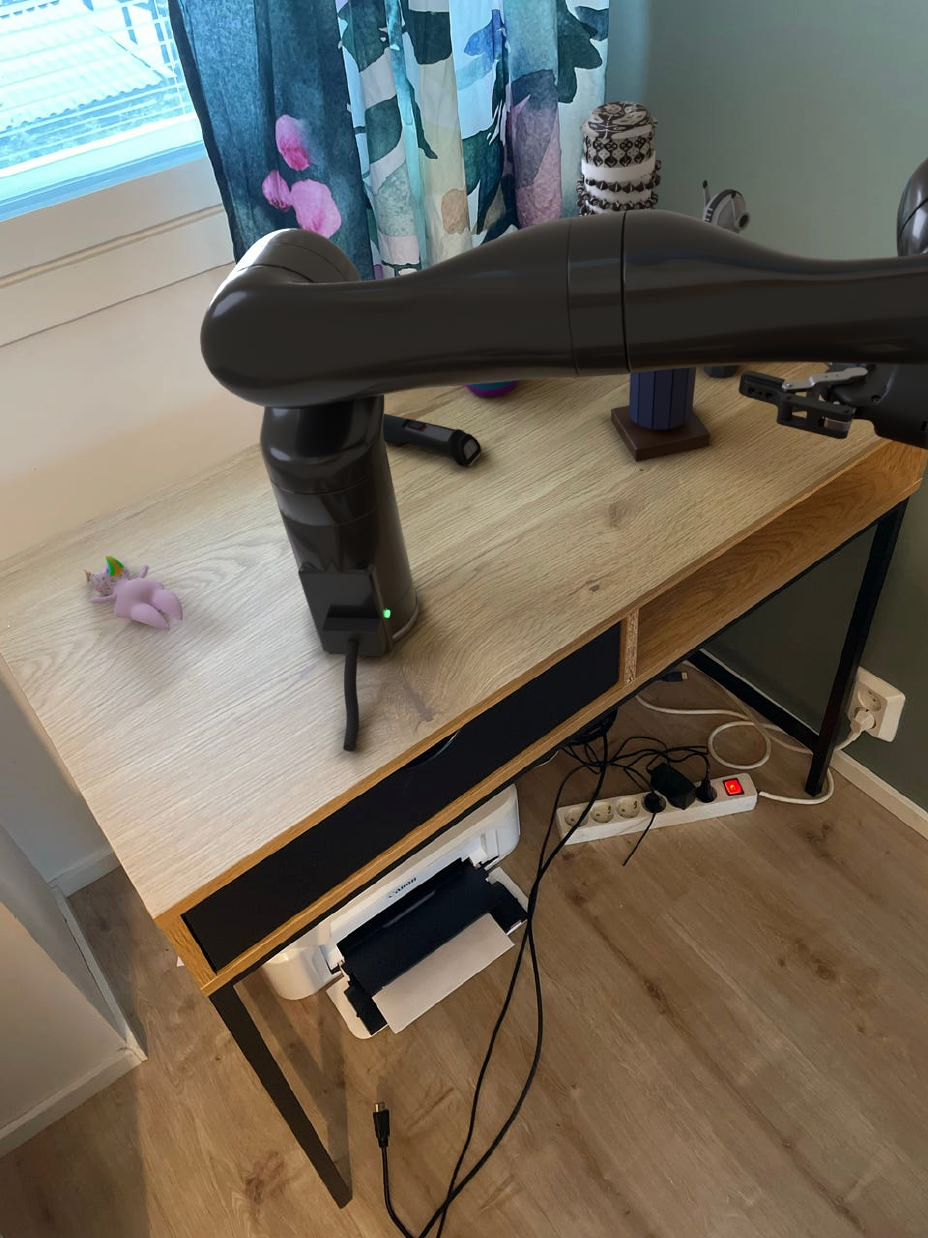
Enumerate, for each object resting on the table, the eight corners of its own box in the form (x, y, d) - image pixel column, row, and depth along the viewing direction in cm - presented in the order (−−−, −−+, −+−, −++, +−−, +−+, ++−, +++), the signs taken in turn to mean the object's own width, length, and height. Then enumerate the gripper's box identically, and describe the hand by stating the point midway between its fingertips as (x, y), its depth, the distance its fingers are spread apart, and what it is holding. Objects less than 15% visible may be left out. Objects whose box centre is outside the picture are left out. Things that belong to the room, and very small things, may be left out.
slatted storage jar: (692, 429, 91) (701, 331, 83) (628, 430, 92) (631, 333, 84) (690, 394, 95) (699, 298, 88) (629, 395, 96) (632, 300, 89)
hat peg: (709, 445, 93) (721, 339, 84) (635, 461, 92) (639, 356, 84) (680, 405, 98) (688, 302, 90) (610, 420, 98) (612, 317, 89)
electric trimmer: (368, 421, 103) (363, 397, 101) (484, 451, 96) (481, 425, 94) (349, 439, 101) (343, 415, 99) (466, 470, 94) (462, 445, 92)
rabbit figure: (81, 604, 88) (153, 659, 78) (51, 556, 84) (121, 606, 74) (136, 570, 91) (211, 618, 81) (109, 521, 87) (184, 566, 77)
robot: (789, 386, 99) (822, 199, 85) (757, 403, 97) (786, 215, 83) (666, 323, 111) (677, 151, 97) (636, 337, 109) (642, 165, 95)
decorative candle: (667, 335, 109) (682, 109, 91) (599, 356, 107) (600, 130, 89) (630, 305, 115) (637, 88, 97) (565, 324, 113) (560, 107, 96)
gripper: (987, 326, 75) (799, 286, 83) (933, 409, 68) (732, 358, 76) (960, 403, 81) (786, 359, 88) (907, 488, 73) (722, 433, 81)
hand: (761, 359), depth 82 cm, fingers open, 8 cm apart
